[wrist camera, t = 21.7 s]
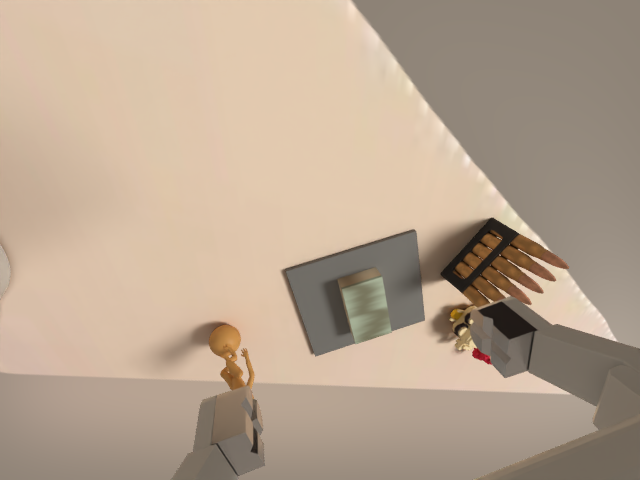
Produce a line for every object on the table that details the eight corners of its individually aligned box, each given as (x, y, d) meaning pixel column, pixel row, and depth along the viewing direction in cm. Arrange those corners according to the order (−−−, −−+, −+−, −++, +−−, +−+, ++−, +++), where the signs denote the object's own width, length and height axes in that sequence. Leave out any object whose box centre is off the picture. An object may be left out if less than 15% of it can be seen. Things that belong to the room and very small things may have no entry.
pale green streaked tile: (385, 321, 46) (375, 267, 41) (391, 332, 44) (382, 276, 39) (350, 332, 45) (337, 279, 41) (355, 344, 43) (341, 289, 39)
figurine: (222, 302, 40) (210, 378, 29) (265, 314, 42) (269, 389, 31) (201, 349, 42) (183, 433, 32) (243, 357, 44) (239, 440, 34)
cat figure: (548, 326, 57) (470, 286, 46) (596, 364, 50) (517, 326, 39) (512, 363, 60) (430, 333, 49) (552, 403, 52) (466, 379, 41)
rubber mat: (314, 353, 47) (315, 356, 46) (285, 269, 39) (285, 271, 39) (423, 317, 48) (424, 320, 47) (414, 229, 41) (416, 231, 40)
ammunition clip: (447, 279, 46) (506, 335, 35) (439, 274, 45) (497, 329, 34) (499, 223, 43) (579, 265, 32) (491, 217, 42) (571, 257, 32)
